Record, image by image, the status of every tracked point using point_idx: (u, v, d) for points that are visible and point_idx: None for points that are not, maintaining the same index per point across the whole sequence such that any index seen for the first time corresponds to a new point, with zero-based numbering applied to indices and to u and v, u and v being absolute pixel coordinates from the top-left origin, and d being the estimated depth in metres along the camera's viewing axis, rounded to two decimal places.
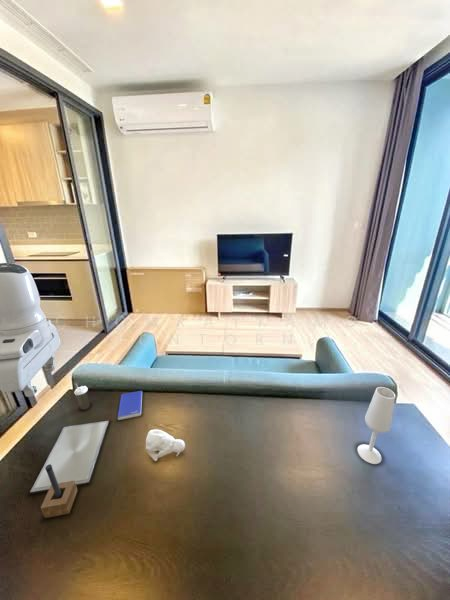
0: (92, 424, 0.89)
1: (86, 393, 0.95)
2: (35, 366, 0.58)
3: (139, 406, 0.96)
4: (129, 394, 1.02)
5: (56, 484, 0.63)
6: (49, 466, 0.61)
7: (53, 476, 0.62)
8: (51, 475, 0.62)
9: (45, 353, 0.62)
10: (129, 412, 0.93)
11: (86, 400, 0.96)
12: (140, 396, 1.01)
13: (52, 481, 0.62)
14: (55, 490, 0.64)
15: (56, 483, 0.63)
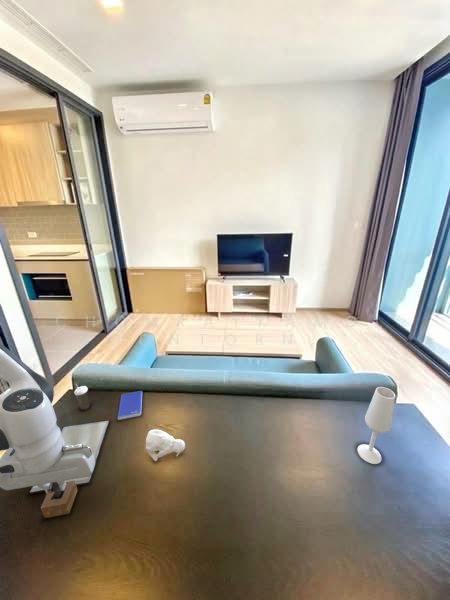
0: (92, 424, 0.89)
1: (86, 393, 0.95)
2: (30, 481, 0.60)
3: (139, 406, 0.96)
4: (129, 394, 1.02)
5: (56, 484, 0.63)
6: None
7: None
8: None
9: (53, 476, 0.60)
10: (129, 412, 0.93)
11: (86, 400, 0.96)
12: (140, 396, 1.01)
13: None
14: (55, 490, 0.64)
15: (56, 483, 0.63)
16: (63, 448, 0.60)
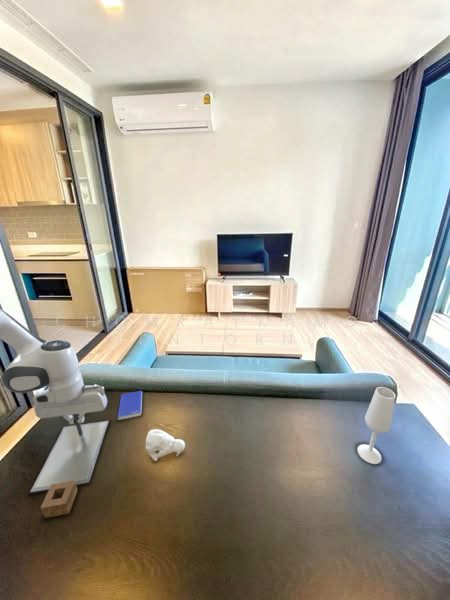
0: (92, 424, 0.89)
1: None
2: (58, 411, 0.78)
3: (139, 406, 0.96)
4: (129, 394, 1.02)
5: (77, 417, 0.82)
6: None
7: None
8: None
9: (75, 409, 0.79)
10: (129, 412, 0.93)
11: None
12: (140, 396, 1.01)
13: (74, 414, 0.81)
14: (76, 422, 0.82)
15: (77, 416, 0.82)
16: (83, 387, 0.78)
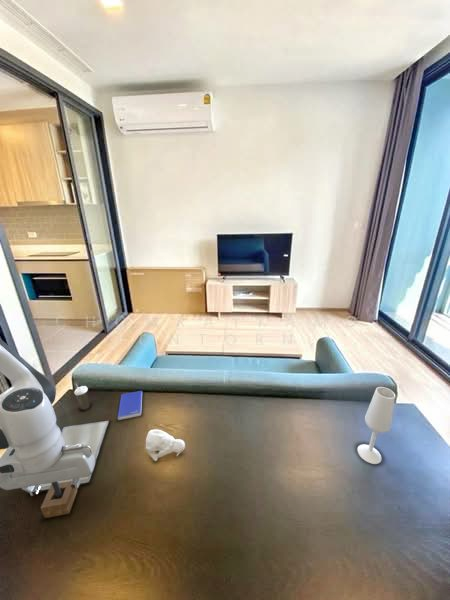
0: (92, 424, 0.89)
1: (86, 393, 0.95)
2: (30, 481, 0.60)
3: (139, 406, 0.96)
4: (129, 394, 1.02)
5: (56, 484, 0.63)
6: None
7: None
8: None
9: (53, 476, 0.60)
10: (129, 412, 0.93)
11: (86, 400, 0.96)
12: (140, 396, 1.01)
13: None
14: (55, 490, 0.64)
15: (56, 483, 0.63)
16: (63, 448, 0.60)
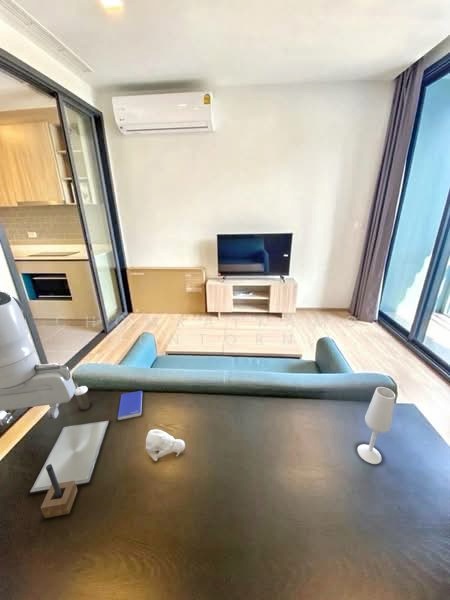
0: (92, 424, 0.89)
1: (86, 393, 0.95)
2: None
3: (139, 406, 0.96)
4: (129, 394, 1.02)
5: (56, 484, 0.63)
6: (49, 466, 0.61)
7: (53, 476, 0.62)
8: (51, 475, 0.62)
9: (25, 399, 0.52)
10: (129, 412, 0.93)
11: (86, 400, 0.96)
12: (140, 396, 1.01)
13: (52, 481, 0.62)
14: (55, 490, 0.64)
15: (56, 483, 0.63)
16: (36, 366, 0.52)
